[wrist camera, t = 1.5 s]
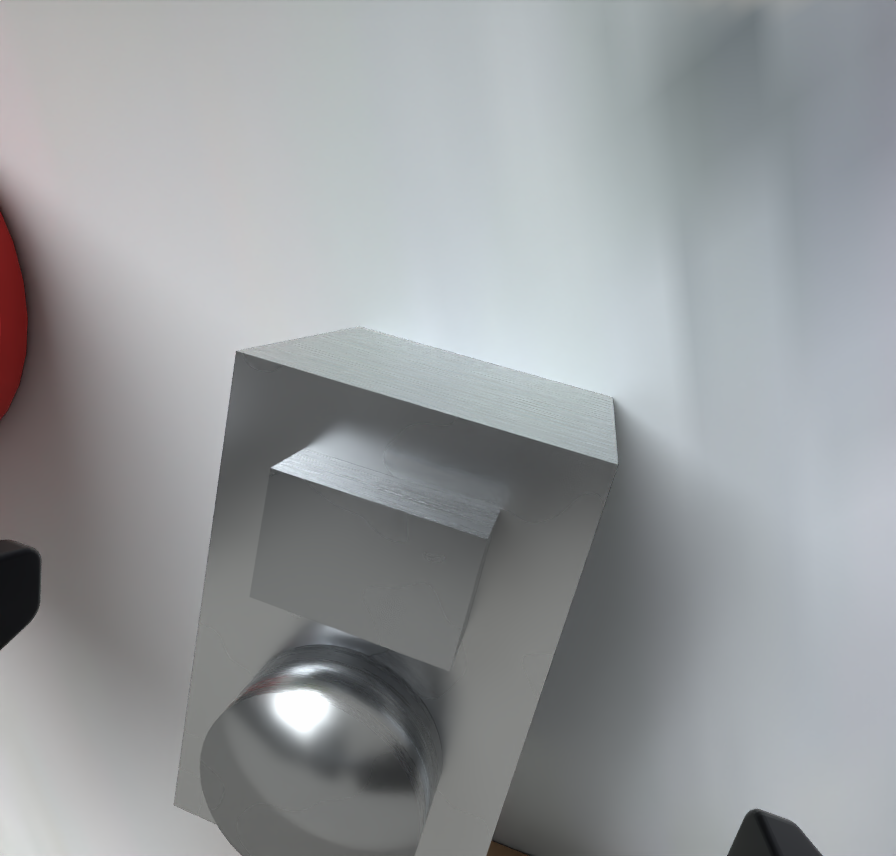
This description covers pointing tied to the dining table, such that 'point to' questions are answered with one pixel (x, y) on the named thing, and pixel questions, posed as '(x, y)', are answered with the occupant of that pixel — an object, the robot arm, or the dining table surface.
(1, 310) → the canned food
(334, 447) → the housing
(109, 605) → the dining table surface
